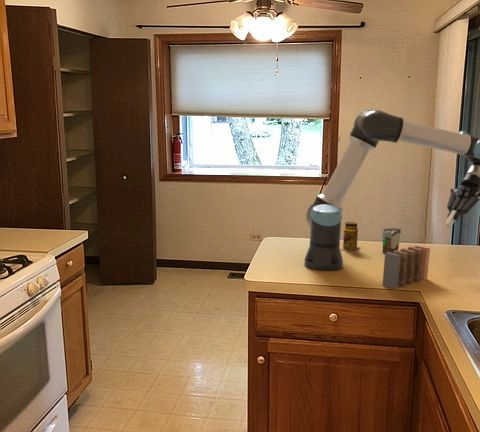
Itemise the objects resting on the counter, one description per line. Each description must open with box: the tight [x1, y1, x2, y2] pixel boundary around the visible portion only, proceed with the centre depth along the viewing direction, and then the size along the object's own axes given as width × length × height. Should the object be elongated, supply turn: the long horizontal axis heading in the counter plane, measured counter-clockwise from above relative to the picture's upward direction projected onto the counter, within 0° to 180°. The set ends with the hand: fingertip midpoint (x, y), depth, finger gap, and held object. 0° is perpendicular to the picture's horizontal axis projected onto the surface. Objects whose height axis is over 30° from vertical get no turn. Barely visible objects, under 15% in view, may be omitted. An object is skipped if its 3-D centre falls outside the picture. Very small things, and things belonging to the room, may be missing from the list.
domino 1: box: [382, 252, 401, 290], centre depth 186 cm, size 2×5×12 cm, turn 39°
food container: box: [381, 227, 402, 255], centre depth 232 cm, size 12×6×10 cm, turn 144°
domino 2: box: [393, 249, 408, 288], centre depth 189 cm, size 2×5×12 cm, turn 39°
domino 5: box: [414, 244, 431, 281], centre depth 197 cm, size 2×5×12 cm, turn 39°
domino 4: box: [407, 246, 423, 283], centre depth 195 cm, size 2×5×12 cm, turn 39°
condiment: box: [340, 221, 361, 253], centre depth 236 cm, size 7×8×12 cm
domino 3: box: [399, 247, 416, 285], centre depth 192 cm, size 2×5×12 cm, turn 39°
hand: (447, 225), depth 205 cm, fingers closed
